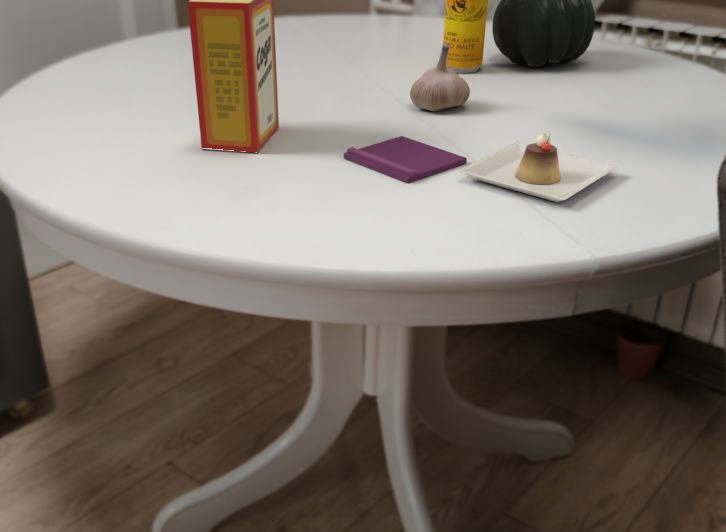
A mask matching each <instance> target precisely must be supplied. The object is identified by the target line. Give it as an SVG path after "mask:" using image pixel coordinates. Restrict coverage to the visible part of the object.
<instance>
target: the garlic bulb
mask: <svg viewBox="0 0 726 532" xmlns="http://www.w3.org/2000/svg"><path fill="white" fill-rule="evenodd" d="M448 51H449V45H447V44H443V43H442V47H441V51H440V55H439V59H438V62H437V64H436V66H435V67H431V68H429V69H427V70H426V71H425V72H424V73H423V74H422V76H420V77H419V78H418V79H416V81H414V82H413V84H412V85H411V88H410V92H409V97H410V100H411V103H412V104H413V105H414V106H415V107H416V108H418V109H421V110H427V111H431V112H436V111H437V112H439V111H441V110H442V111H443V110H445V109H448V108H449V109H450V108H454V107H459V106H463V105H464V104H465V103H466V102H467V101H468V100H469V98H470V95H471V89H470V86H469V84H468V82H467V81H466V80H465V79H464V78H463V77H461V76H460V74H459V73H456V72H455V71H454V70H452V69H449V68H447V67H446V60H447V54H448Z"/></svg>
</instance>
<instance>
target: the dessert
mask: <svg viewBox="0 0 726 532" xmlns="http://www.w3.org/2000/svg"><path fill="white" fill-rule="evenodd" d="M550 137H551V133H550V134H549V135H548V134H547V133H545V132H542V133H541V134H540V135H538V136H537V138H536V142H535V143H530V144H528V143H525V142H520V141H516V142H514V143H512V144H509V145H508V146H506V147H503V148H501V149H500V150H497V151H495V152H493V153H491V154H489V155H487V156H485V157H483V158H481V159H479V160H477V161H475V162H473V163H470V164H469V165H467V166H464V167H462V168H460V169H458V170H457V172H459V173H460V174H463V175H465V176H467V177H469V178H471V179H474V180H476V181H479V182H483V183H486V184H490V185H493V186H497V187H500V188H504V189H507V190H511V191H515V192H519V193H521V194H522V193H523V194H526V195H529V196H532V197H533V196H534V197H537V198H540V199H544V200H547V201H551V202H554V203H558V202H562V201H566V200H568V199H569V198H571V197H573V196H574V195H576V194H578V193H579V192H581V191H582V190H584V189H585V188H587V187H589V186H591V185H592V184H593V183H595V182H597V181H599V180H600V179H602V178H603V177H605V176H606V175H608V174H610V173H611V172H613V171H615V170H616V169H618V168H619V165H618V164H617V165H616V164H612V163H609V162H608V163H607V162H605V161H599V160H595V159H591V158H587V157H583V156H578V155H574V154H570V153H565V152H562V151H558V148H557V147H556V146H555V145H552V144H551V138H550Z"/></svg>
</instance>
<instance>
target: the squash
mask: <svg viewBox="0 0 726 532" xmlns="http://www.w3.org/2000/svg"><path fill="white" fill-rule="evenodd" d="M593 5H594V4H593V2H592V0H500V1H499V3H497V5H496V7H495V9H494V10H495V11H494V14H493V16H492V29H491V30H492V31H491V32H492V37H493V41H494V44H495V46H496V48H497V49H498V50H499V52H500V53H501V54H502V55H503V56H504V57H505V58H507V59H508V60H509V61H510V62H511V63H512V64H514V65H517V66H529V67H531V68H540V67H543V66H544V65H545V64H547V61H548V62H549V63H550V64H554V63H558V64H568V63H572V62H573V61H575V60H577V59H579V58H580V57H581V56H583V55H584V54H585V52H586V51H587V50H588V48H589V47H590V45H591V43H592V41H593V37H594V32H595V26H596V12H595V9H594V6H593Z"/></svg>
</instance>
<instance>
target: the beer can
mask: <svg viewBox="0 0 726 532" xmlns="http://www.w3.org/2000/svg"><path fill="white" fill-rule="evenodd" d="M488 3H489V0H445V3H444V5H445V6H444V20H443V21H444V22H443V33H442V45H443V44H447V45H449V51H448V54H447V60H446V67H447V68H449V69H452V70H454V71H455V72H456V73H457V74H471V73H475V72H477V71H479V68H480V67H482V66H483V59H484V50H485V49H484V48H485V37H486V26H487V17H488V16H487V15H488V5H489V4H488Z"/></svg>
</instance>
